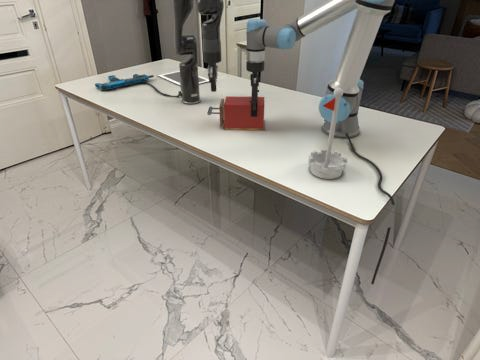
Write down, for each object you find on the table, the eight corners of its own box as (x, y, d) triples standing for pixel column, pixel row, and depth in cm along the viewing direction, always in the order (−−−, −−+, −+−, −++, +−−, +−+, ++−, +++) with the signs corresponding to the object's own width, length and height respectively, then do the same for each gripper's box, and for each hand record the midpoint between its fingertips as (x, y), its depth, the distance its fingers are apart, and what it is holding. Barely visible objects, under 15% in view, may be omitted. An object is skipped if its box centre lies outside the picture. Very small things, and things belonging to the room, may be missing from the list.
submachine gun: (139, 68, 225) (158, 74, 208) (140, 74, 226) (158, 80, 210) (87, 78, 206) (103, 86, 189) (89, 84, 208) (104, 92, 191)
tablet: (157, 75, 220) (157, 75, 220) (183, 70, 231) (183, 69, 231) (184, 87, 200) (184, 87, 200) (212, 80, 211) (212, 80, 211)
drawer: (207, 126, 152) (206, 106, 146) (210, 118, 160) (209, 98, 154) (256, 127, 151) (256, 106, 145) (256, 118, 159) (256, 99, 153)
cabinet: (224, 129, 151) (223, 104, 145) (226, 119, 160) (226, 96, 154) (263, 130, 151) (264, 105, 144) (263, 120, 160) (264, 96, 153)
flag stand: (330, 158, 128) (344, 79, 112) (352, 176, 118) (370, 92, 102) (300, 165, 124) (309, 84, 108) (320, 183, 114) (333, 97, 98)
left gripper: (205, 46, 144) (207, 86, 153) (200, 53, 133) (203, 96, 142) (222, 46, 143) (223, 86, 153) (219, 53, 132) (220, 96, 142)
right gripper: (247, 54, 149) (246, 102, 162) (245, 68, 130) (244, 121, 142) (264, 54, 149) (262, 102, 161) (264, 68, 130) (262, 121, 142)
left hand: (213, 91), depth 148 cm, fingers closed
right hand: (254, 111), depth 152 cm, fingers closed on cabinet, 11 cm apart
